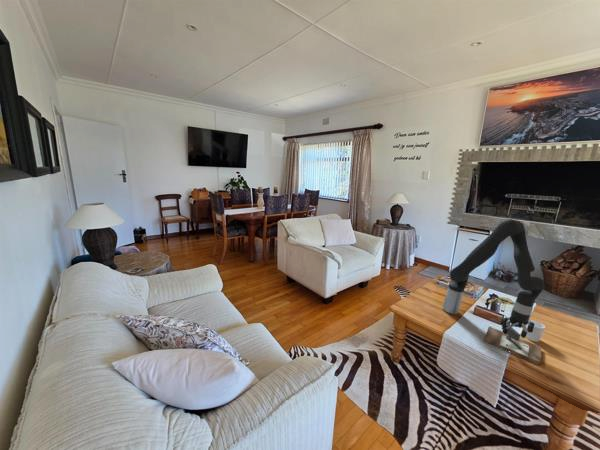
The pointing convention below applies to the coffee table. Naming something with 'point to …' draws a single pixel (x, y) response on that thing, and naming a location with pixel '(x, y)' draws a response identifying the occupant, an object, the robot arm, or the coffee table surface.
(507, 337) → the peg key
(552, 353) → the coffee table surface
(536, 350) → the tuner board
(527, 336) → the white cup
